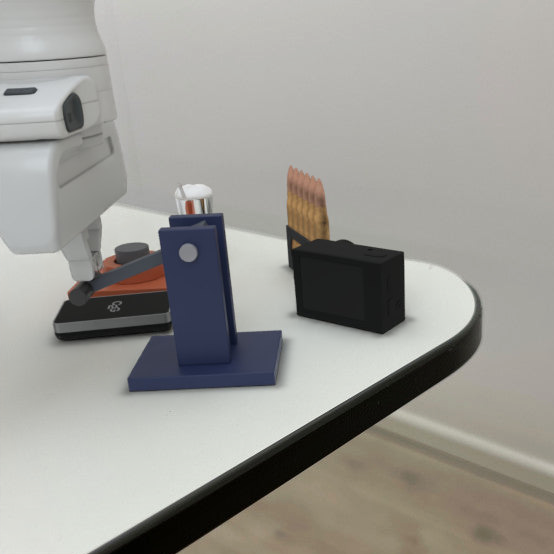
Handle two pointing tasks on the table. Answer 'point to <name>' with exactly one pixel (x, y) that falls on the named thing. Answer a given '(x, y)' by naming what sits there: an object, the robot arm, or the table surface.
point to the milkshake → (194, 199)
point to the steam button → (130, 252)
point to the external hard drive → (113, 316)
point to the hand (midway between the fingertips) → (88, 275)
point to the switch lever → (116, 275)
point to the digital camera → (350, 284)
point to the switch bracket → (203, 318)
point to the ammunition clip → (305, 211)
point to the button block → (132, 281)
